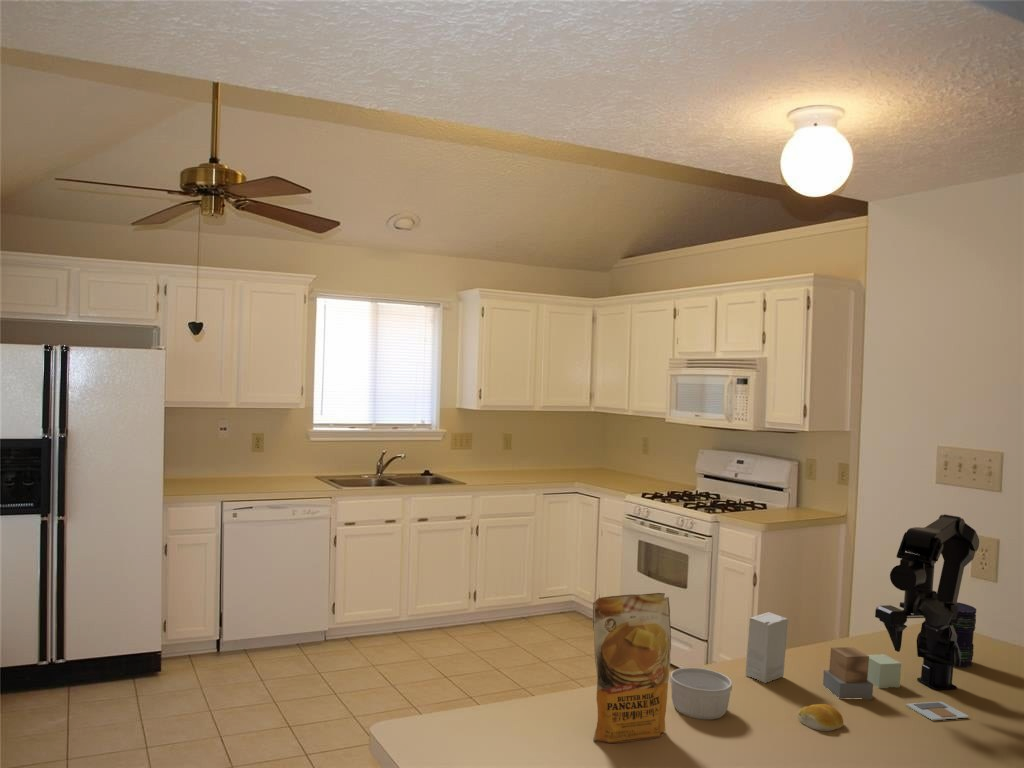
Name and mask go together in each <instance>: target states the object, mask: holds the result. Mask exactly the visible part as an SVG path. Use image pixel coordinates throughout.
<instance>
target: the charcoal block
mask: <svg viewBox="0 0 1024 768" xmlns="http://www.w3.org/2000/svg"><path fill="white" fill-rule="evenodd" d="M823 685H824V686H825V687H824V686H823ZM822 686H823V687H824V688H825V689H827V688H828V689H829V690H830V691H831V692H832V694H833V695H834V694H835V695H836V696H837V697H839V698H862V699H872V700H873V694H874V692H873V691H874V685H873V684H872V683H871V682H870V681H868V680H867V682H843V681H842V680H840V679H839V678H837V677H835V676H834V675H832V674H831V673H829V670H828V669H827V670H826V669H825V670H823V679H822ZM828 689H827V690H828ZM829 690H828V691H829ZM830 691H829V692H830ZM831 692H830V693H831ZM835 695H834V696H835ZM836 696H835V697H836ZM837 697H836V698H837ZM839 698H838V699H839Z"/></svg>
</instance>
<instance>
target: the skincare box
mask: <svg viewBox="0 0 1024 768" xmlns="http://www.w3.org/2000/svg"><path fill="white" fill-rule="evenodd" d="M788 623H789V619H788V618H786V617H784V616H781V615H778V614H775V613H773V612H769V611H768V612H765V613H760V614H758V615H755V616H751V617H749V625H748V626H749V627H748V635H747V636H748V637H747V649H746V662H745V664H746V665H745V676H747V677H748V678H750V677H752V678H751V679H753V678H754V679H753V680H755V679H757V680H756V681H758V680H759V681H758V682H760V681H762V682H764V683H763V684H768V683H770V682H772V680H773V681H775V680H777V679H781V678H782V677H784V675H785V674H784V673H785V661H786V660H785V659H786V651H787V650H786V647H787V638H788V637H787V636H788ZM762 682H761V683H762ZM767 682H768V683H767Z"/></svg>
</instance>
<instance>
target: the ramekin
mask: <svg viewBox="0 0 1024 768" xmlns="http://www.w3.org/2000/svg"><path fill="white" fill-rule="evenodd" d="M669 680H670V684H671V700H672V704H673V706H674V707H675V709H676V710H677V711H678V712H679V713H680V714H682V715H684V716H687V717H689V718H692V719H698V720H709V721H710V720H716V719H720V718H721V717H723V715H725V714H726V712H727V711H728V708H729V707H728V706H729V704H730V703H729V702H730V698H731V697H730V696H731V692H732V690H733V682H732V680H731V679H730V678H729V677H728V676H727V675H726V674H723V673H721V672H719V671H715V670H712V669H708V668H701V667H680V668H676V669H674V670H672V671H671V672H670V674H669Z"/></svg>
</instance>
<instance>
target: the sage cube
mask: <svg viewBox="0 0 1024 768" xmlns="http://www.w3.org/2000/svg"><path fill="white" fill-rule="evenodd" d="M867 655H868V656H869V665H868V678H867V680H868V681H870V682H871V683H872V684H873V686H874V685H875V686H877V687H878V688H877V687H876V688H877V689H889V688H888V687H895V688H900V686H901V685H900V684H901V674H902V673H901V672H902V662H900V661H899V660H897V659H894V658H892V657H890V656H888V655H886V654H883V653H881V654H867ZM875 686H874V687H875Z"/></svg>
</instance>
